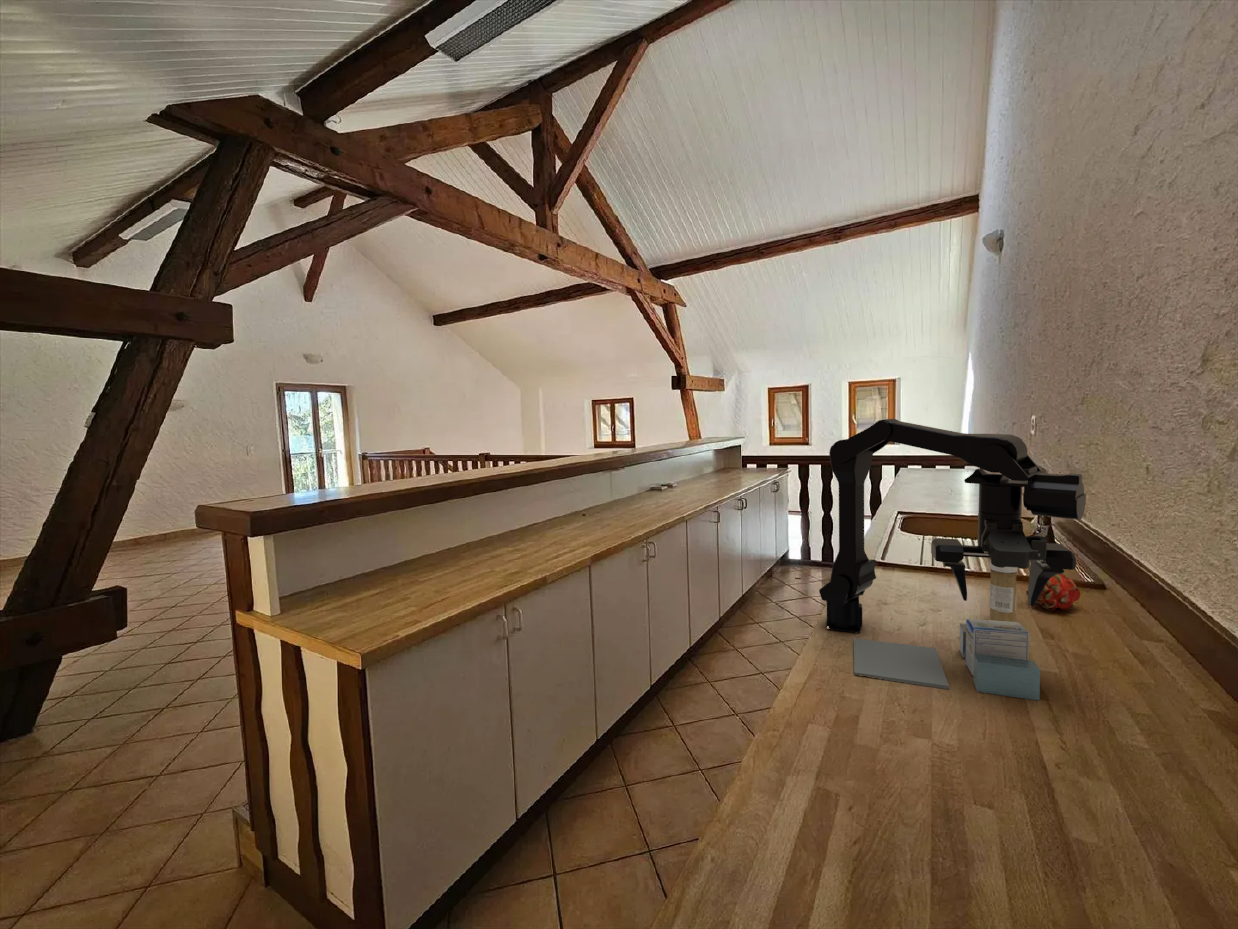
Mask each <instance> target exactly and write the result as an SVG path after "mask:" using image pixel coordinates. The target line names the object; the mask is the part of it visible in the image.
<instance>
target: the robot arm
mask: <svg viewBox="0 0 1238 929" xmlns="http://www.w3.org/2000/svg"><path fill="white" fill-rule="evenodd" d="M889 443H897V444H900V445H904V446H909V447H915V448H918V449H922V450H927V451H932V452H937V453H941V454H945V455H950V456H952V457H955V458H958V459H960V460H961V461H962V462H963V461H964V462H965V463H967V464H969V465H972V466H974V467H976V468H977V469H975V470H974V471H973V473H972V474H970V475H969V476H968V477H966V478H964V479H963V480H964V483H965V484H974V485H975V484H976V485H978V511H977V512H978V513H977V519H978V520H977V521H978V524H977V525H978V527H977V540H976V541H977V542H976V543H977V545H970V544H969V545H968V544H967V545H966V544H962V543H961V542H960V541H959V539H958V538H938V537H935V538H934V539H933V540H931V544H930V553H931V555H932V557H933V559H934V560H935V562H939V563H942V564H943V566H944V567H949V568H950V570H951V571H952V573H953V575H954V578H955V581H956V584H957V586H958V589H959V592H960V595H961V597H962V599H963V601H964V602H965V601H966V602H967V600H968V589H967V578H966V564H965V563H964V562H963V560H964V557H968V558H969V557H971V558H987V559H990V560H991V563H992V565H994V566H996V567H1000V568H1004V567H1017V568H1018V569H1019V570H1021V569H1022V570H1025V569H1029V573H1028V574H1029V577H1028V587H1027V591H1028V595H1027V600H1028V601H1027V602H1028V605H1029V606H1030V607H1034V606H1035V604H1036V603H1037V602H1036V601H1037V599H1038V597H1039V595H1040V593H1041V591H1042V589H1043V588H1044V586H1045V584H1046V583H1047V582H1048V580H1049V579H1050V578H1051V577H1053V576H1054V575H1056V574H1065V571H1066V570H1068V571H1069V570H1070V571H1073V570H1076V568H1077V566H1076V565H1077V558H1076V555H1075V553H1074V552H1073V551H1071V550H1070V549H1068V548H1067V547H1066V546H1064V545H1062V544H1061V543H1051V542H1050V543H1049V542H1047V539H1046V538H1045V536H1043V535H1042V536H1040V535H1038V536H1037V535H1026V534H1025V532H1024V523H1023V522H1024V521H1023V520H1022V507H1023V506H1024V508H1025V509H1026V511H1030V512H1031V515H1033V516H1040V517H1047V518H1048V517H1050V518H1056V519H1057V518H1058V519H1067V520H1068V519H1069V520H1079V521H1081V520H1082V518H1083V517H1084V513H1085V509H1086V503H1087V502H1086V501H1087V493H1085V486H1084V483H1083V475H1082V474H1081V473H1066V474H1061V473H1059V474H1058V473H1044V471H1043V470H1042V469H1041V468H1040V467H1039V466H1038V464H1037V463H1035V461H1034V459H1032V458H1031V456H1029V454H1028V448H1027V444H1026V443H1025V442H1024V441H1023V439H1022V438H1021V437H1019V436H1016V435H1014V434H1009V433H1007V434H1005V433H1004V434H1003V433H1000V434H999V433H965V432H964V433H963V432H958V431H952V430H947V429H942V428H937V427H933V426H926V425H921V424H917V423H911V422H905V421H901V420H898V419H896V418H885V419H880V420H877V421H876V422H875V423H873V424H872V425H871V426H869V427H867V428H865V429H863V430H862V431H860V432H858V433H856V434H853V435H852V436H851V437H849V438H846V439H839V440H838V441H836V442H834V443H833V444H832V445H831V446H830V448H829V452H828V453H829V459H830V460H829V461H830V467H831V471H832V472H833V475H834V476H835V479H836V480H837V483H838V552H837V555H836V557H835V560H834V562H833V564H832V568H831V574H830V579H829V580H830V581H828V582H827V583H826V584H824V586H822V587H820V588H819V595H820V598H821V600H822V601H825V602H826V622H825V628H826V627H827V626H829V628H830V629H832V630H831V631H837V630H838V631H839V632H848V633H854V632H860V633H861V628H862V627H863V604H862V603H860V596H863V595H864V594H865V593H866V592H865V591H866V590H867V589H869V588H870V587H871V586H872V585H873V582H874V580H876V579H877V575H876V570H875V569H876V559H873V558H872V559H871V558H870V559H869V557H868V555H867V553H866V552H865V482H866V479H867V477H868V475H869V472H870V470H871V468H872V462H873V457H874V454H875V453H877V452H879V451H880V450H881V449H884V447H886V446H887V445H888V444H889ZM986 471H987V472H986ZM988 472H989V473H988ZM990 560H989V561H990Z"/></svg>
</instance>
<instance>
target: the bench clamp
mask: <svg viewBox="0 0 1238 929" xmlns="http://www.w3.org/2000/svg"><path fill="white" fill-rule="evenodd" d="M958 624H959V653H960V655H961V657H962V659H966V622H965V623H963V622H959V623H958ZM972 678H973V679H972V680H973V681H972V682H973V685H974V686H975V690H976V692H977V693H984V694H991V695H998V696H1005V697H1013V698H1017V699H1018V698H1019V699H1025V700H1033V701H1040V698H1041V697H1040V696H1041V695H1040V694H1041V693H1040V691H1041V668H1040V667H1039V666H1038V665H1037V663H1036V662H1035V660H1031V659H1029V660H1023V659H1015V658H1007V657H998V656H990V655H981V654H974V673H973V675H972Z"/></svg>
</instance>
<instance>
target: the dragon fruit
mask: <svg viewBox="0 0 1238 929" xmlns="http://www.w3.org/2000/svg"><path fill="white" fill-rule="evenodd" d="M1025 592H1026V596H1028V590H1026V591H1025ZM1080 598H1081V591H1080V589H1079V587H1077V584H1075V582H1074V581H1073V580H1072V579H1071V578H1070V577H1067V576H1066V575H1065V573H1063V574H1056V575H1054V576H1053V577H1051V578H1050V579H1049V580H1048V582H1047V583H1046V584H1045V586H1044V588H1043V589H1042V591H1041V593H1040V595H1039V597H1038V599H1037V601H1036V603H1038V604H1040V605H1041V607H1042V608H1044V609H1046V610H1048V611H1051V612H1052V611H1055V610H1057V608H1059V609H1061V610H1063V611H1069V612H1070V611H1072V610H1073V609H1074V606H1073V605H1074V603H1075V602H1077V601H1078V600H1080Z"/></svg>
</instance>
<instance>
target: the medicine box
mask: <svg viewBox="0 0 1238 929" xmlns="http://www.w3.org/2000/svg"><path fill="white" fill-rule="evenodd" d="M965 624H966V658H965V665H966V667H967V669H968V670H969V673H971V675H972V676H973V673H974V654H981V655H990V656H998V657H1007V658H1015V659H1023V660H1030V659H1029V658H1030V636H1031V634H1030V632H1029V631H1028V630H1027V629H1026V628H1025V627H1024V626H1023V625H1022V624H1021V623H1020V622H1018V621H1016V622H1008V621H995V620H989V619H974V618H973V619H972V618H967V619H966V621H965Z"/></svg>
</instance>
